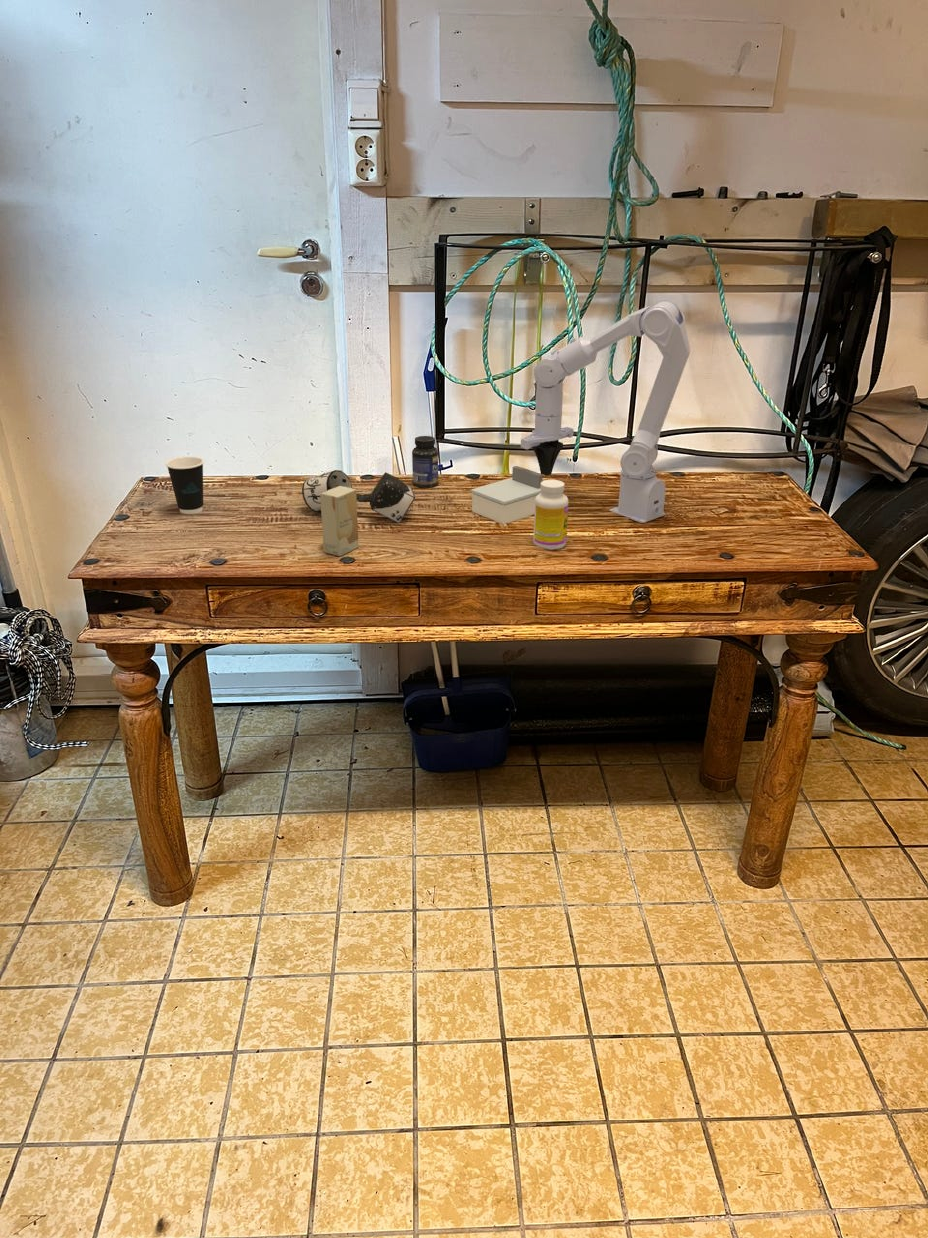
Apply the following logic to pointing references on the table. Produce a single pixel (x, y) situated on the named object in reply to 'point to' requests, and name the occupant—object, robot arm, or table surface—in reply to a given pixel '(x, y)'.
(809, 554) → the table surface
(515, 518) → the box
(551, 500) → the supplement bottle
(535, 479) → the lid
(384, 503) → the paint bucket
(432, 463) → the pill bottle
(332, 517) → the skincare box
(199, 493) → the dixie cup
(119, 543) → the table surface
